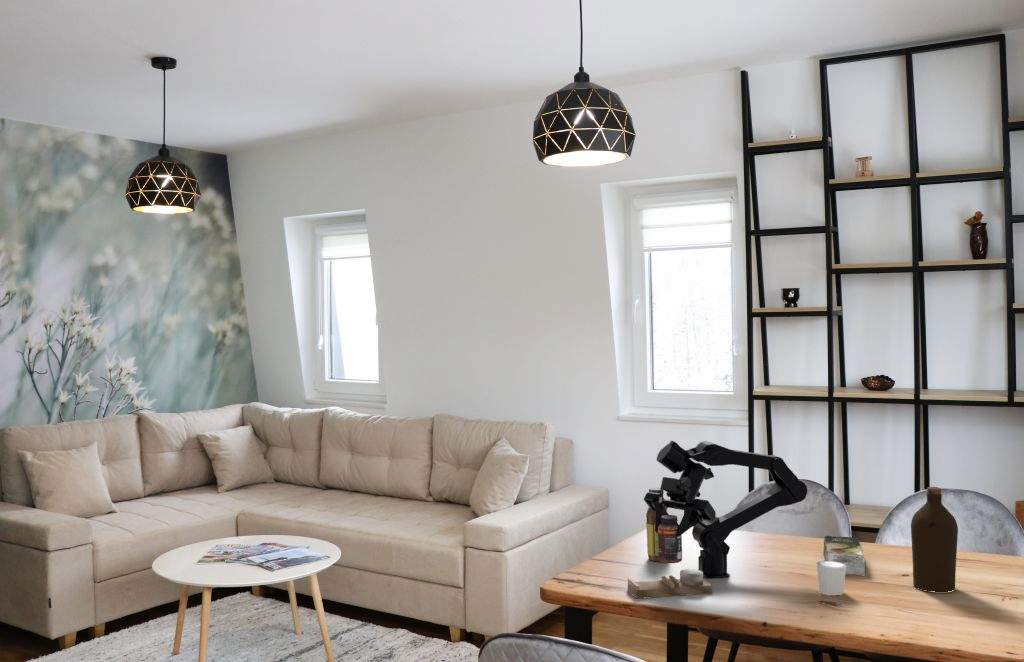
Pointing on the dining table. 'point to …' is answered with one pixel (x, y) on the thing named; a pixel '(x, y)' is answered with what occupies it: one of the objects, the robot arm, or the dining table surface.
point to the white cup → (831, 577)
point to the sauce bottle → (652, 530)
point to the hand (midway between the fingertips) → (666, 533)
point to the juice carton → (845, 553)
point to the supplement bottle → (669, 540)
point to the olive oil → (934, 545)
